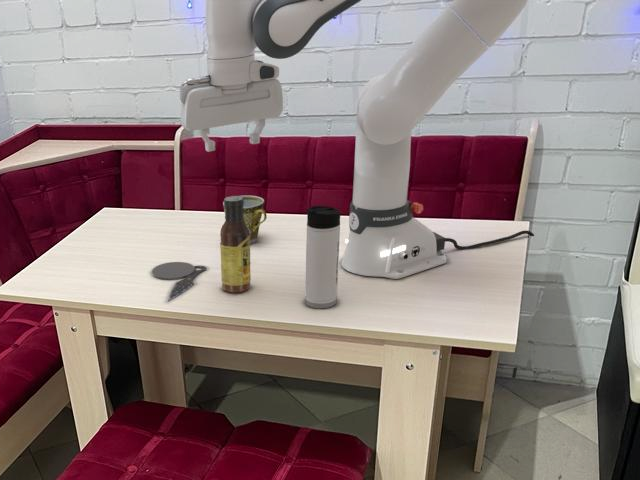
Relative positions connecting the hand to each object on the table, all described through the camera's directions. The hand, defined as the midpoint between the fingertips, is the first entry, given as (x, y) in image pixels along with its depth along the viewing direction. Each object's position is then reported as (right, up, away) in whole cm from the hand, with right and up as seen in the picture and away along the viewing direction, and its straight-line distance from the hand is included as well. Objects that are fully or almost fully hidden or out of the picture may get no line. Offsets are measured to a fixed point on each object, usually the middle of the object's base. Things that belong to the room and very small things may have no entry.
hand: (232, 147), depth 147 cm
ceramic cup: (+9, -12, +39) cm, 42 cm away
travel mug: (+19, -30, +5) cm, 36 cm away
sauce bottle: (+3, -26, +15) cm, 31 cm away
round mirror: (-10, -21, +27) cm, 35 cm away
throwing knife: (-8, -25, +20) cm, 33 cm away
